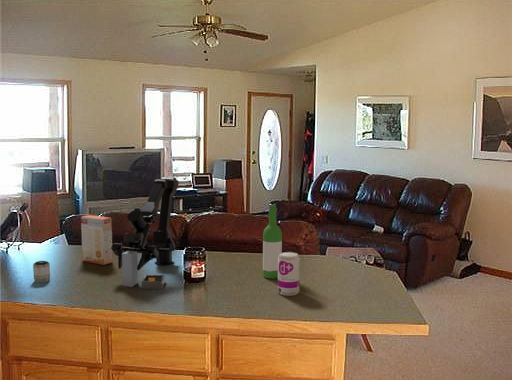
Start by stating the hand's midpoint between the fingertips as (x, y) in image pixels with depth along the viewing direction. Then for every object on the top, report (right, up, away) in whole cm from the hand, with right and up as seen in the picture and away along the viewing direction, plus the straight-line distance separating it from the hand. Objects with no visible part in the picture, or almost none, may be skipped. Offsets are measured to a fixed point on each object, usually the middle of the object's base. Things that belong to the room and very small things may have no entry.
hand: (128, 269), depth 224 cm
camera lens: (-36, -6, +7) cm, 37 cm away
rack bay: (+10, -7, +1) cm, 12 cm away
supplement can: (+62, -8, -7) cm, 63 cm away
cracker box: (-22, -2, +36) cm, 42 cm away
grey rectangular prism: (0, -6, +2) cm, 7 cm away
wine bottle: (+57, -5, +14) cm, 59 cm away
